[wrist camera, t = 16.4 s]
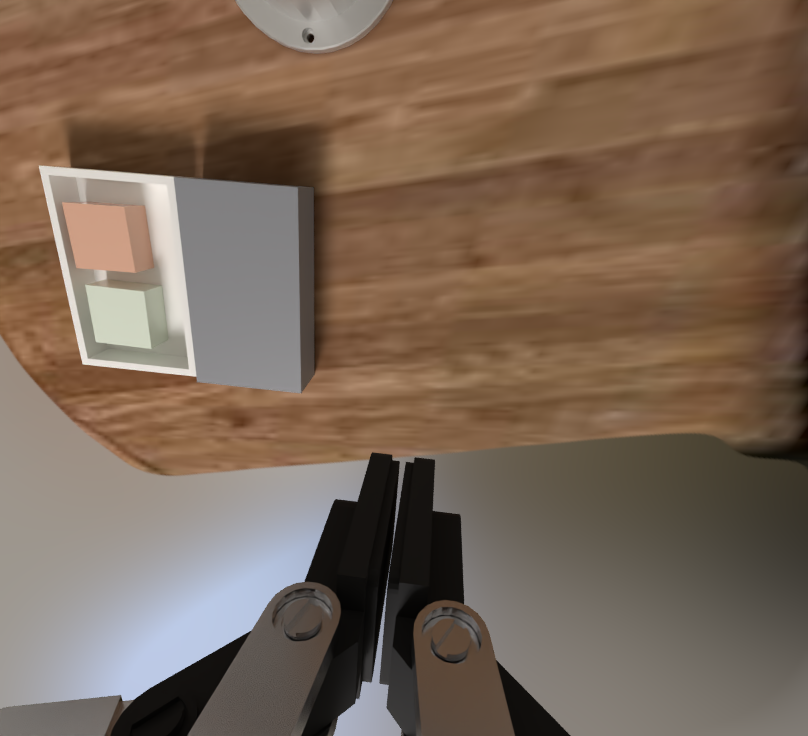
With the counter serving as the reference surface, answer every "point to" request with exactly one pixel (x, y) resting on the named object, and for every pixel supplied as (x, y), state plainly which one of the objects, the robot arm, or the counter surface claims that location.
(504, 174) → the counter surface
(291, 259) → the plate
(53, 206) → the tray
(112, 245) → the tile
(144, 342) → the tile
